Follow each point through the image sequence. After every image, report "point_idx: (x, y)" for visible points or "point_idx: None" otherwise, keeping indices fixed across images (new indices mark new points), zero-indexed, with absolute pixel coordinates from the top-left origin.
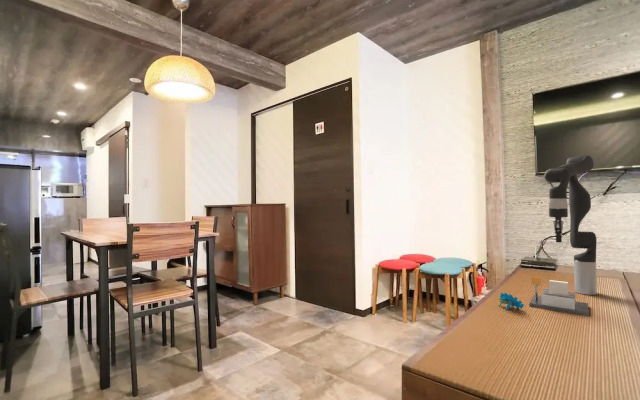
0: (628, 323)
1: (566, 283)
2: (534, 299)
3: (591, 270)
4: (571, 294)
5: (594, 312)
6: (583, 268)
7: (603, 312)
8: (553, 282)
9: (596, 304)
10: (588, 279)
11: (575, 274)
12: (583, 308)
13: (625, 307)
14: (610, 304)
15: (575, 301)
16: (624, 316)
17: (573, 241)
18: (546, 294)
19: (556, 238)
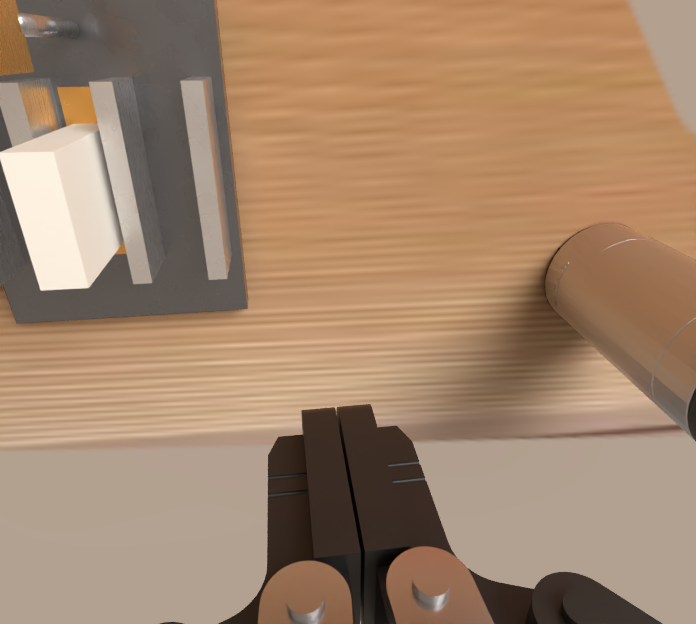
0: (54, 435)
1: (38, 279)
2: (63, 13)
3: (643, 389)
4: (130, 266)
5: (136, 329)
6: (653, 355)
7: (174, 359)
8: (13, 185)
9: (331, 328)
10: (597, 336)
11: (660, 276)
12: (90, 298)
13: None
14: (378, 374)
15: (238, 255)
16: (173, 421)
17: None
18: (8, 114)
19: (305, 476)
